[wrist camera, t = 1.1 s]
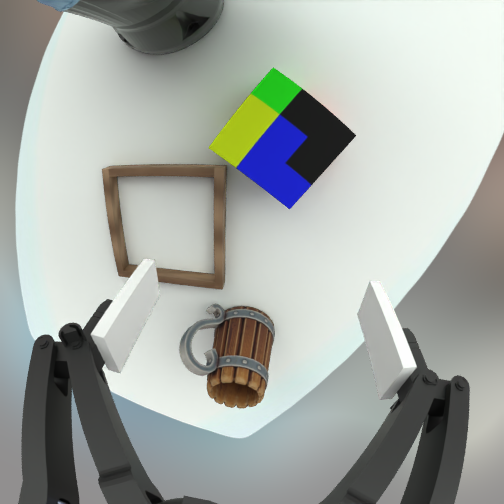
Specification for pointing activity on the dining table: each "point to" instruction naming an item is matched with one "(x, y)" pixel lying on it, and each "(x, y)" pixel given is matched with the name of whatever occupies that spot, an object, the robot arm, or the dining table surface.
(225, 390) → the mug
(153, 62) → the dining table surface
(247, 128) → the puzzle toy
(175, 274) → the square wooden frame
